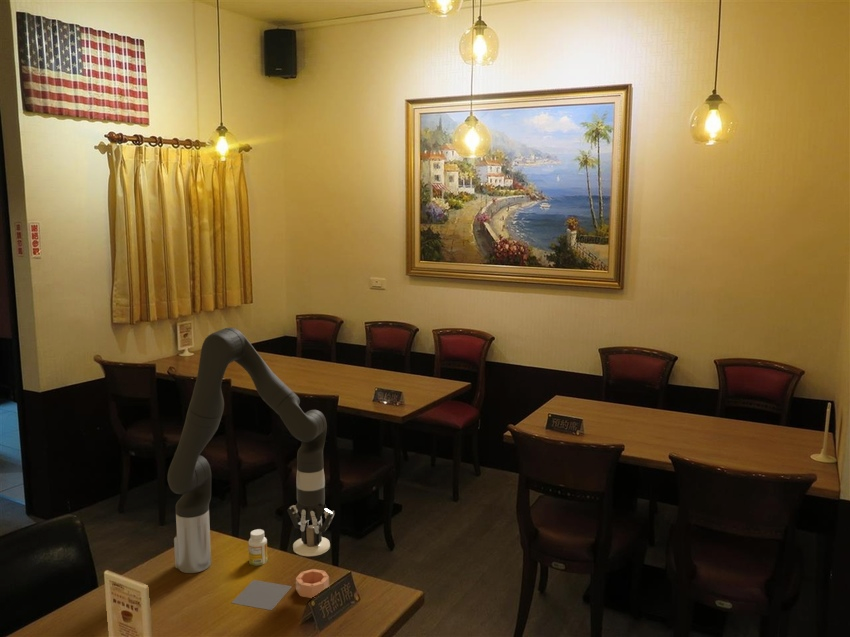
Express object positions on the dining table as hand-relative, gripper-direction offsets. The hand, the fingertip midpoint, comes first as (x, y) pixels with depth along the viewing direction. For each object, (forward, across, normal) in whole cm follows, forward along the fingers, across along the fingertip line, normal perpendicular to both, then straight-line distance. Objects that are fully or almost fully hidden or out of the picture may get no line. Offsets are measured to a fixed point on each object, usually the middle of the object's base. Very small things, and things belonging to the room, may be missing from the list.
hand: (311, 543), depth 191 cm
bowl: (+14, 0, 0) cm, 14 cm away
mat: (+14, -12, -6) cm, 20 cm away
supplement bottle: (+14, -22, +10) cm, 28 cm away
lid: (+1, 0, 0) cm, 1 cm away
